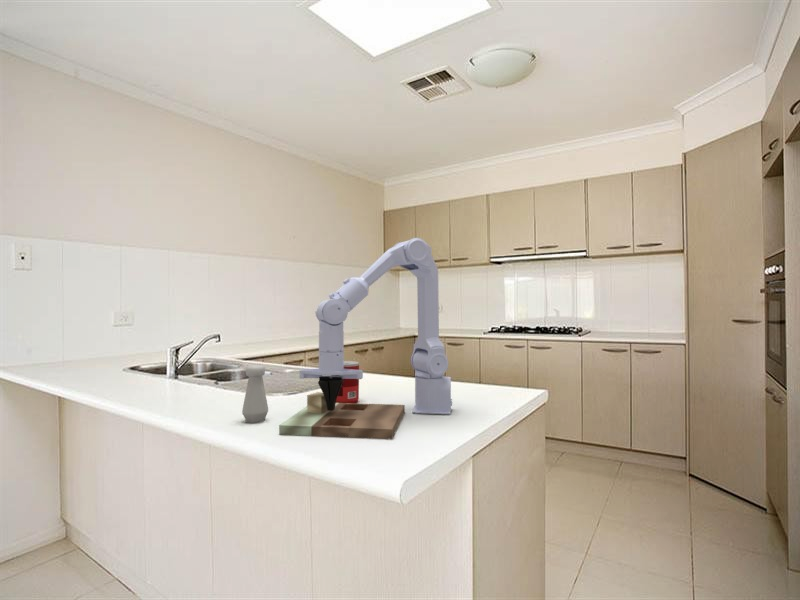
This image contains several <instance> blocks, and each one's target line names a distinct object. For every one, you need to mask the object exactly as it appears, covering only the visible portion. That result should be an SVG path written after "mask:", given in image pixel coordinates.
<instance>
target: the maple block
mask: <svg viewBox="0 0 800 600" xmlns="http://www.w3.org/2000/svg"><path fill="white" fill-rule="evenodd" d="M306 404H307V405H306V406H307V412H310V413H318V414H322V413H325V412H328V410H327V404H326V400H325V397H324V394H323V392H322V391H321V392H320V391H319V392H318V391H316V392H313V393H310V394H307V395H306Z"/></svg>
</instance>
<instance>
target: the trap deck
mask: <svg viewBox="0 0 800 600" xmlns="http://www.w3.org/2000/svg"><path fill="white" fill-rule="evenodd" d="M405 406H406V405H405V404H391V403H390V404H385V403H358V402H357V403H336V404H335V409H334V410H333V411H328V412H325V413H322V414H318V413H310V412H307V405H306V406H305V407H303V408H301V409H300V410H299V411H298V412H296V413H295V414H294V415H292V416H290V417H289V418H288V419H286V420H285V421H283V422H281V424H279V425H278V430H279V431H278V434H279V436H302V437H303V436H304V437H305V436H306V437H325V438H326V437H330V438H349V439H351V438H353V439H378V440H379V439H380V440H381V439H383V440H393V438H394V436H395V434H396V432H397V429H398V427H399V425H400V424H401V421H402V419H403V417H404V415H405V413H406V412H405V410H406V409H405V408H406V407H405Z"/></svg>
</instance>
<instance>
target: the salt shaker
mask: <svg viewBox="0 0 800 600" xmlns="http://www.w3.org/2000/svg"><path fill="white" fill-rule="evenodd" d="M265 374H266V369H265V366H264V365H260V364H253V365H252V364H251V365H248V366H247V367H246V368H245V376H246V377H247V378H248V379H247V386H246V389H245V395H244V401H243V405H242V411H241V413H242V415H243V418H244V419H245V421H246V423H248V424H257V423H262V422H265V420H266V418H267V415H268V412H269V406H268V400H267V396H266V390H265V385H264V378H263V376H264V375H265Z"/></svg>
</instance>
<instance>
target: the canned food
mask: <svg viewBox="0 0 800 600" xmlns="http://www.w3.org/2000/svg"><path fill="white" fill-rule="evenodd" d="M344 369H354V370H360V362H359V361H354V360H344ZM330 376H339V375H330ZM359 391H360V379H344V381H343V383H342V385H341V388H340V390H339V393H338V396H337V399H336V403H358V402H359V398H360V396H359V395H360V394H359V393H360V392H359Z"/></svg>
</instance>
